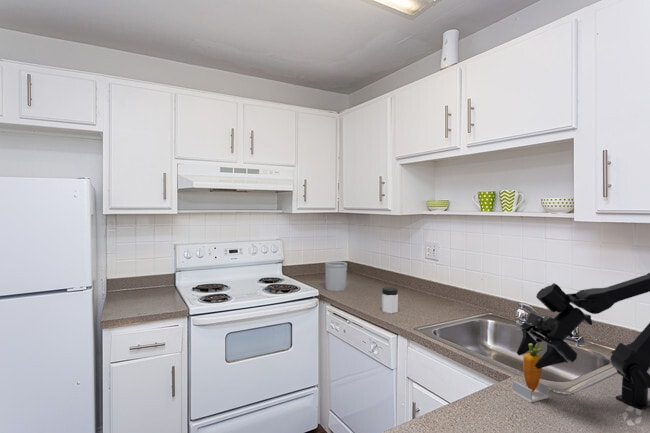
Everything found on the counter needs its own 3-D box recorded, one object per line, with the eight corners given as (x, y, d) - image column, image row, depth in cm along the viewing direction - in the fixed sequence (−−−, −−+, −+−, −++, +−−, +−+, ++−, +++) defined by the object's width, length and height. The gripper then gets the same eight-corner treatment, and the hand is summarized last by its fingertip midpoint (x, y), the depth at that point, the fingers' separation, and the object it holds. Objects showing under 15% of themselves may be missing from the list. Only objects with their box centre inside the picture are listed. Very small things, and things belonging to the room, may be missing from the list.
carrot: (534, 388, 111) (536, 339, 110) (544, 397, 106) (547, 346, 105) (518, 388, 110) (520, 339, 110) (527, 396, 106) (530, 345, 105)
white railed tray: (530, 388, 112) (530, 377, 112) (548, 397, 107) (548, 386, 107) (512, 392, 110) (512, 381, 109) (530, 402, 104) (530, 390, 104)
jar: (380, 308, 199) (380, 286, 199) (395, 308, 200) (395, 286, 199) (383, 313, 190) (383, 290, 190) (399, 313, 191) (399, 290, 190)
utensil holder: (349, 290, 242) (350, 264, 241) (328, 291, 237) (328, 265, 237) (342, 286, 256) (343, 261, 255) (322, 287, 252) (322, 261, 251)
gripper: (527, 296, 117) (492, 330, 117) (567, 313, 98) (526, 354, 98) (550, 321, 117) (516, 355, 117) (595, 342, 99) (554, 383, 99)
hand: (526, 360), depth 108 cm, fingers open, 9 cm apart
